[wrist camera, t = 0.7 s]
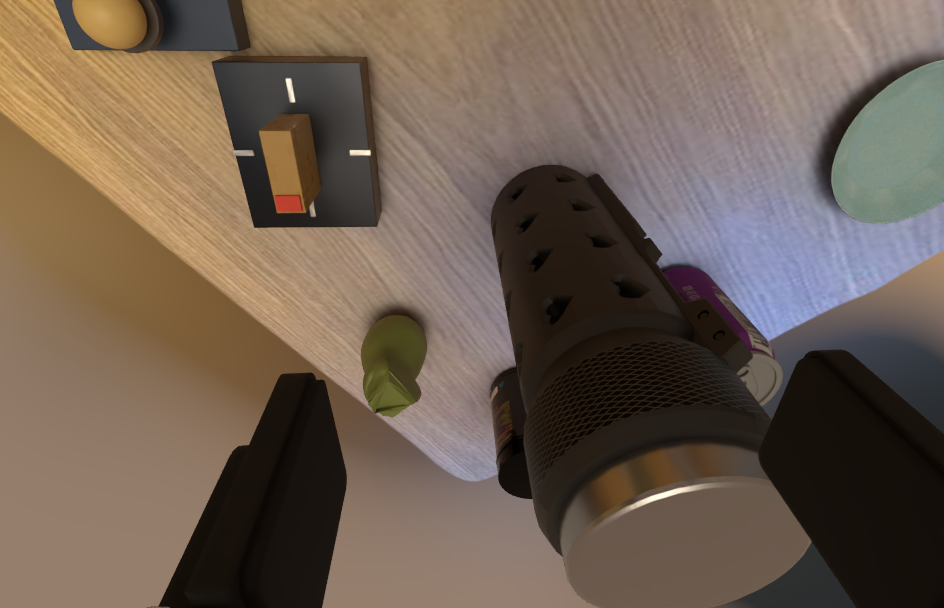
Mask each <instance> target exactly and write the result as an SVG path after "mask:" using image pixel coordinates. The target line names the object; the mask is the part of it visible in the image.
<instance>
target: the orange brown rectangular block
mask: <svg viewBox="0 0 944 608" xmlns="http://www.w3.org/2000/svg"><path fill="white" fill-rule="evenodd" d="M259 135H260V139H261V143H262V148H263V152H264V157H265V161H266V166H267V170H268V175H269V179H270V183H271V188H272V192H273V197H274V201H275V206H276V210H277V213H306V212H307V210H308V209H309V207H310V205H311V204H312V202H313V201H314V199H315V197H316V196H317V194H318V193H319V191H320V189H321V183H320V177H319V171H318V165H317V159H316V153H315V147H314V140H313V134H312V128H311V122H310V116H309V114H281V115H279V116H278V117H277V118H275V119H274V120H273V121H271V122H270V123H269V124H267V125H266V126H265V127H263V128H262V129H261V130H260V131H259Z"/></svg>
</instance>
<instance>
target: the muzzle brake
mask: <svg viewBox="0 0 944 608" xmlns="http://www.w3.org/2000/svg"><path fill="white" fill-rule="evenodd" d="M491 228H492V234H493V239H494V245H495V251H496V256H497V262H498V267H499V273H500V278H501V284H502V289H503V295H504V300H505V306H506V311H507V317H508V322H509V328H510V333H511V339H512V345H513V350H514V356H515V361H516V367H517V372H518V378H519V383H520V389H521V394H522V399H523V403H524V407H525V411H526V413H527V418H526V421H525V424H524V449H525V455H526V461H527V467H528V473H529V479H530V485H531V491H532V497H533V503H534V509H535V513H536V517H537V521H538V524H539V527H540V529H541V531H542V532H543V534H544V535H545V536H546V538H547V539H548V541H549V542H550V544H551V545H552V546H553V547H554V549H555V550H556V552H558V553H559V554H560V555H561V556H562V557H563V560H564V565H565V570H566V574H567V579H568V581H569V583H570V584H571V586H572V587H573V589H574V590H575V592H576V593H577V594H578V595H579V596H580V597H581V598H582V599H584V600H585V601H586V602H588V603H590V604H592V605H594V606H596V607H598V608H711V607H715V606H719V605H722V604H725V603H728V602H731V601H734V600H737V599H739V598H741V597H743V596H746V595H748V594H750V593H752V592H755V591H757V590H758V589H761V588H762V587H764V586H766V585H767V584H769V583H771V582H772V581H774V580H775V579H777V578H778V577H780V576H781V575H783V574H784V573H785V572H786V571H788V570H789V569H790V568H792V566H793V565H794V564H795V563H796V562H797V561H798V560H799V559H800V558H801V557H802V556H803V554H804V553H805V552H806V550H807V548H808V547H809V545H810V544H811V542H812V541H811V540H810V538H809V537H808V535H807V534H806V532H805V531H804V529H803V528H802V526H801V525H800V523H799V522H798V521H797V519H796V518H795V516H794V515H793V513H792V512H791V510H790V509H789V507H788V506H787V504H786V503H785V501H784V500H783V498H782V497H781V496H780V494H779V493H778V491H777V490H776V488H775V487H774V485H773V484H772V482H771V481H770V479H769V478H768V476H767V475H766V473H765V472H764V471H763V469H762V467H761V465H760V462H759V457H758V454H759V449H760V447H761V444H762V442H763V440H764V437H765V435H766V433H767V431H768V428H769V426H770V424H771V421H772V420H771V419H770V418H769V416H768V415H767V413H766V412H765V411H764V409H763V408H762V407H761V405H760V404H759V403H758V401H757V400H756V399H755V397H754V396H753V395H752V393H751V392H750V391H749V389H748V388H747V387H746V385H745V384H744V383H743V381H742V380H741V379H740V378H739V376H738V375H737V374H736V373H738V372H739V371H740V370H741V369H742V368H743V367H744V366H745V365H746V364H747V363H748V362H749V361H750V360H751V359H752V358H753V354H752V353H751V351H750V350H749V349H748V347H747V346H746V344H745V343H744V342H743V340H742V339H741V338H740V337H739V335H738V334H737V333H736V332H735V331H734V329H733V328H732V327H731V326H730V325H729V323H728V322H727V321H726V320H725V319H724V317H723V316H722V315H721V314H720V313H719V311H718V310H717V309H716V308H715V307H714V305H713V304H712V303H711V302H710V301H709V299H708V298H707V297H705V298H701V299H698V300H694V301H690V302H685V301H684V300H683V298H682V297H681V296H680V294H679V293H678V292H677V290H676V289H675V288H674V286H673V285H672V284H671V282H670V281H669V280H668V278H667V277H666V276H665V274H664V273H663V272H662V270H661V269H660V268H659V266H658V265H657V264H656V262H657V261H658V260H659V258H660V257H661V256H662V253H661V252H660V250H659V249H658V248H657V246H656V245H655V244H654V242H653V241H652V240H651V239H650V238H647V239H644V237H645V236H646V233H645V232H644V231H643V229H642V228H641V227H640V225H639V224H638V223H637V221H636V220H635V219H634V218H633V216H632V215H631V214H630V213H629V211H628V210H627V209H626V208H625V206H624V205H623V204H622V203H621V201H620V200H619V199H618V198H617V196H616V195H615V194H614V193H613V191H612V190H611V189H610V188H609V186H608V185H607V184H606V183H605V182H604V180H603V179H602V178H601V177H600V175H599V174H595V175H593V176H591V177H589V178H587V179H586V178H585V176H583V175H582V174H580V173H578V172H577V171H575V170H573V169H570V168H567V167H563V166H557V165H547V166H540V167H536V168H532V169H530V170H527V171H525V172H523V173H521V174H519V175H518V176H516V177H515V178H514V179H512V180H511V181H510V182H509V183H508V184H507V185H506V186H505V187H504V188H503V190H502V191H501V193H500V194H499V196H498V197H497V199H496V202H495V204H494V206H493V210H492V215H491Z"/></svg>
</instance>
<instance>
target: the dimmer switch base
mask: <svg viewBox="0 0 944 608" xmlns="http://www.w3.org/2000/svg"><path fill="white" fill-rule="evenodd" d="M212 65H213V69H214V73H215V76H216V80H217V84H218V88H219V92H220V96H221V100H222V104H223V108H224V111H225V115H226V119H227V123H228V127H229V131H230V135H231V139H232V143H233V147H234V150H232V153H233V156H236V158H237V162H238V166H239V170H240V174H241V178H242V182H243V186H244V189H245V193H246V197H247V201H248V205H249V209H250V213H251V217H252V221H253V224H254V228H267V227H377V225H378V222H379V218H380V215H381V212H382V209H381V198H380V188H379V178H378V168H377V158H376V147H375V137H374V127H373V117H372V107H371V96H370V86H369V76H368V66H367V57H317V56H229V57H226V58H222V59H219V60H216V61H213V62H212ZM281 114H309V116H310V122H311V128H312V134H313V140H314V147H315V153H316V159H317V165H318V171H319V177H320V183H321V189H320V191H319V193H318V194H317V196H316V197H315V199H314V201H313V202H312V204H311V205H310V207H309V209H308V210H307V212H306V213H277V210H276V206H275V201H274V197H273V192H272V188H271V183H270V179H269V175H268V170H267V166H266V161H265V157H264V152H263V148H262V143H261V139H260V135H259V131H260V130H261V129H262V128H263V127H265V126H266V125H267V124H269V123H270V122H271V121H273V120H274V119H275V118H277V117H278V116H279V115H281Z"/></svg>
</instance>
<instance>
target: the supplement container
mask: <svg viewBox="0 0 944 608" xmlns="http://www.w3.org/2000/svg"><path fill="white" fill-rule="evenodd" d="M490 399H491V409H492V419H493V428H494V438H495V448H496V457H497V459H496V464H497V471H498V479H499V483H500V485H501V486H502V488H503V489H504V490H505V491H506V492H508V493H509V494H511V495H513V496H516V497H520V498H525V499H533V497H532V491H531V485H530V479H529V473H528V467H527V461H526V455H525V449H524V424H525V421H526V418H527V413H526V411H525V407H524V403H523V399H522V394H521V389H520V383H519V378H518V372H517V369H513V370H510V371H508V372H506V373H504V374H503V375H501V376H500V377H499V378H498V379H497V380H496V381H495V383H494V384H493V386H492V389H491V392H490Z"/></svg>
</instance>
